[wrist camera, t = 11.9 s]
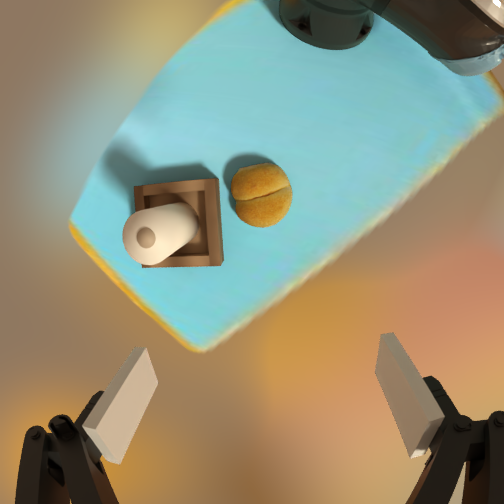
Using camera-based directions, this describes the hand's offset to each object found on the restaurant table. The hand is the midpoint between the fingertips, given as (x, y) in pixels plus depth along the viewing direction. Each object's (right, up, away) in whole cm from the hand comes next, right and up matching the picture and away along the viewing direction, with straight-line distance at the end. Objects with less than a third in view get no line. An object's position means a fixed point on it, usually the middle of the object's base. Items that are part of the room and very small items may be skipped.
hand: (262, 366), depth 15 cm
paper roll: (-11, +10, +26) cm, 30 cm away
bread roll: (+1, +15, +26) cm, 30 cm away
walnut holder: (-11, +11, +28) cm, 31 cm away
